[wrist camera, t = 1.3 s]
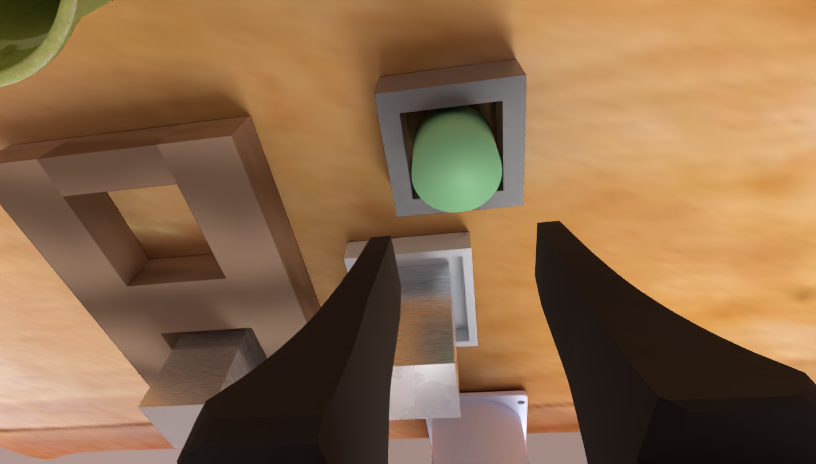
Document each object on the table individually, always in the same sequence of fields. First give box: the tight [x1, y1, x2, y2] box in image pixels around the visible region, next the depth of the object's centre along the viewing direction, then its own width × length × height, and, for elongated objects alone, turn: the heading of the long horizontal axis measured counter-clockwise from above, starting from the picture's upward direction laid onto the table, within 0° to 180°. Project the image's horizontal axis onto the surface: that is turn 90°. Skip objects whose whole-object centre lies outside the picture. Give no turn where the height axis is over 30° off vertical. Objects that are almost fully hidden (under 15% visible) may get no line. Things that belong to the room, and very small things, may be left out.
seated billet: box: [138, 328, 267, 449], centre depth 27 cm, size 4×4×7 cm
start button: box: [411, 105, 502, 213], centre depth 18 cm, size 4×4×3 cm
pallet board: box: [0, 116, 320, 386], centre depth 26 cm, size 20×13×2 cm, turn 8°
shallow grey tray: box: [344, 232, 478, 347], centre depth 26 cm, size 8×7×2 cm
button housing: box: [374, 59, 526, 217], centre depth 20 cm, size 6×6×2 cm
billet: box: [389, 263, 461, 420], centre depth 23 cm, size 4×4×7 cm
